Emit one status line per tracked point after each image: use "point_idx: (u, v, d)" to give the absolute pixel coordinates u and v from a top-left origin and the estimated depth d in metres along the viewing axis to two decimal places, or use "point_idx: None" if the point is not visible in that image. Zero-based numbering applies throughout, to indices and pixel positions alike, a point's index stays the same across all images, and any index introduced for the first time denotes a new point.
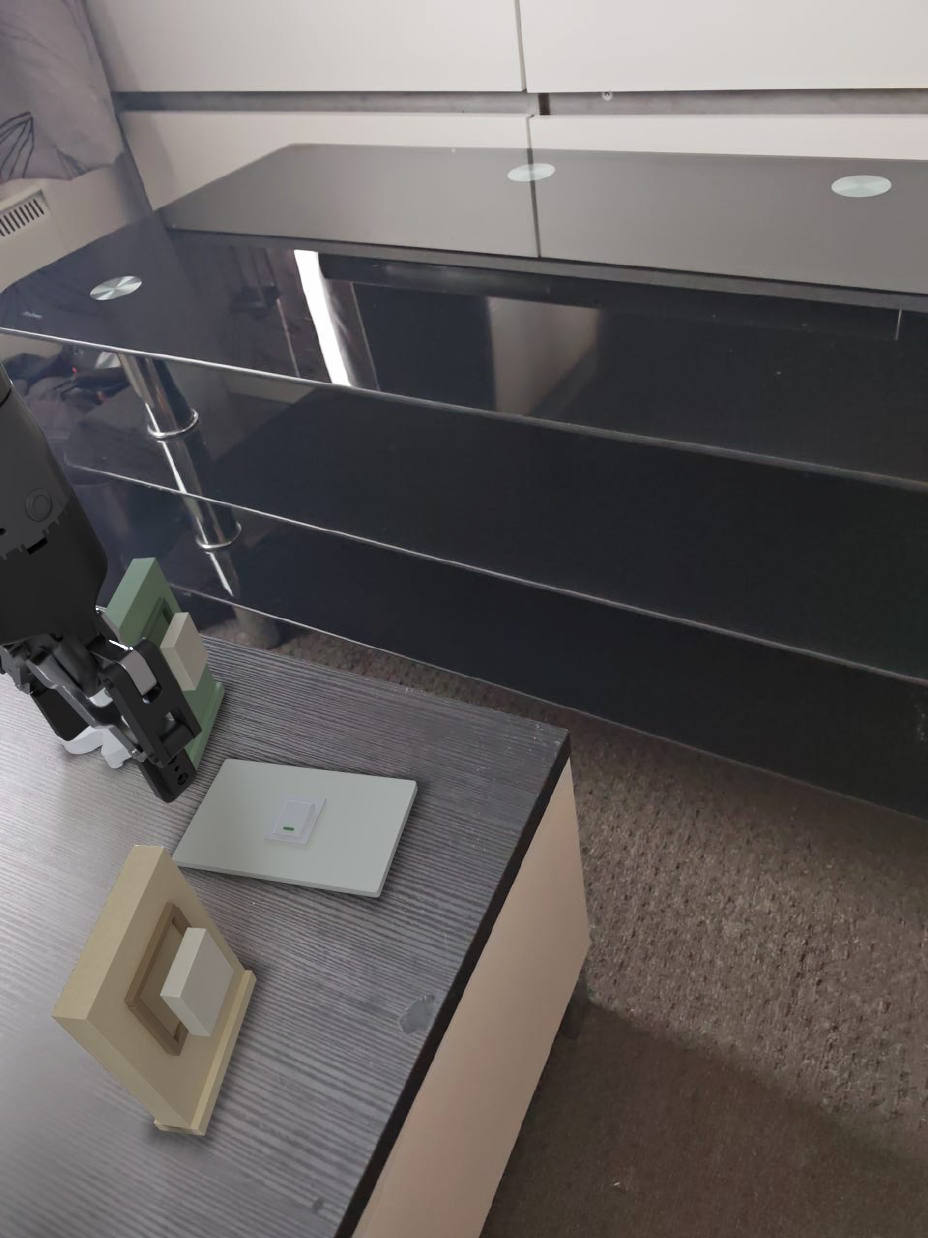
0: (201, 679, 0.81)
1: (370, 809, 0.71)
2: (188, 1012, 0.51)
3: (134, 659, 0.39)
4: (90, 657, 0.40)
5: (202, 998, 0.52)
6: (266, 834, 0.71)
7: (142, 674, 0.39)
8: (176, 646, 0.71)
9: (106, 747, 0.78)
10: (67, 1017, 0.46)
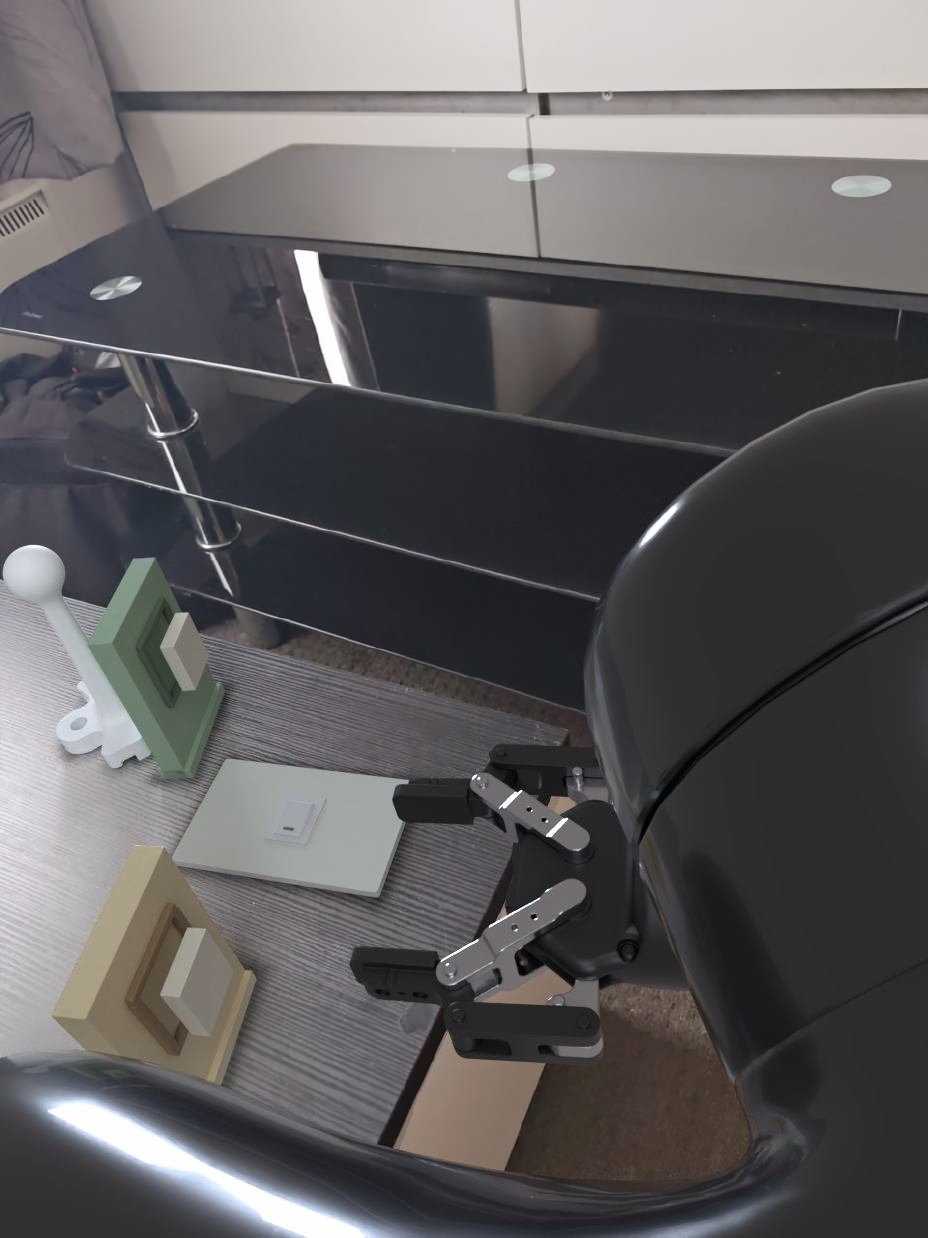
0: (201, 679, 0.81)
1: (370, 809, 0.71)
2: (188, 1012, 0.51)
3: (597, 1050, 0.35)
4: (591, 978, 0.36)
5: (202, 998, 0.52)
6: (266, 834, 0.71)
7: (577, 1052, 0.35)
8: (176, 646, 0.71)
9: (106, 747, 0.78)
10: (67, 1017, 0.46)
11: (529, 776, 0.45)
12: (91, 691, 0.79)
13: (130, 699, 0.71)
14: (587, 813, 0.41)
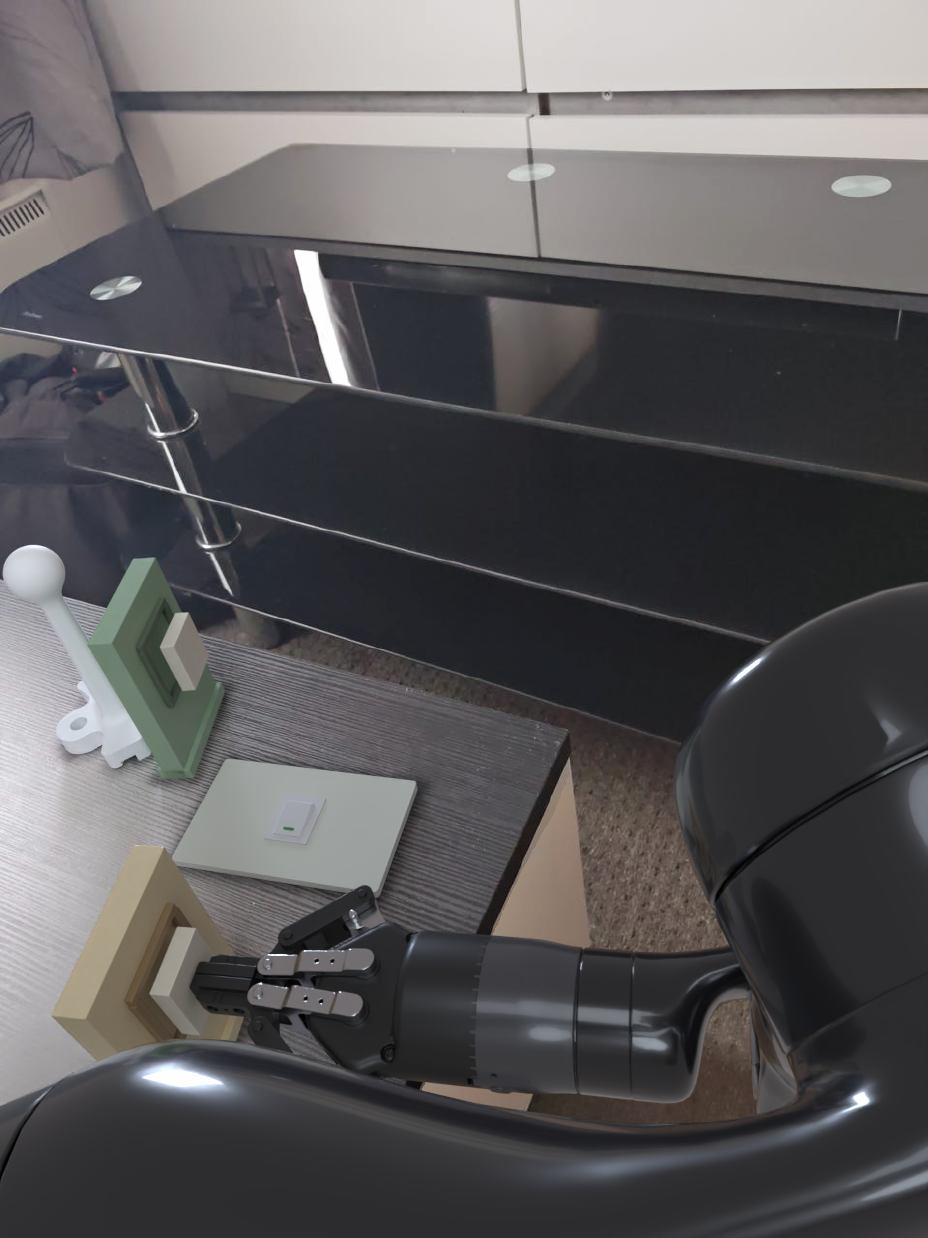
0: (201, 679, 0.81)
1: (370, 809, 0.71)
2: (178, 1011, 0.51)
3: None
4: None
5: (191, 997, 0.52)
6: (266, 834, 0.71)
7: None
8: (176, 646, 0.71)
9: (106, 747, 0.78)
10: (67, 1017, 0.46)
11: (313, 940, 0.54)
12: (91, 691, 0.79)
13: (130, 699, 0.71)
14: (379, 938, 0.51)
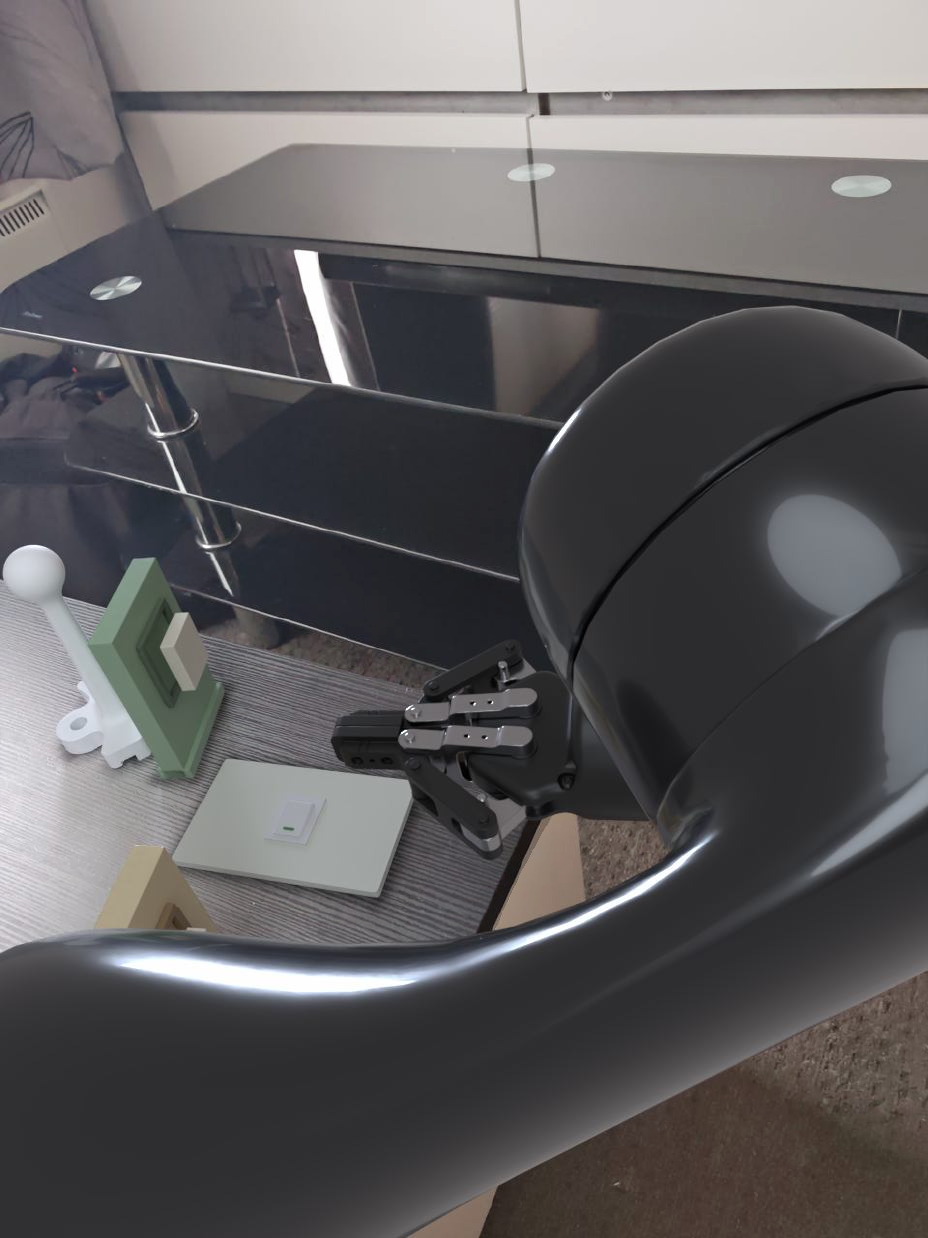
0: (201, 679, 0.81)
1: (370, 809, 0.71)
2: None
3: (487, 847, 0.42)
4: (519, 801, 0.43)
5: None
6: (266, 834, 0.71)
7: (473, 839, 0.42)
8: (176, 646, 0.71)
9: (106, 747, 0.78)
10: None
11: None
12: (91, 691, 0.79)
13: (130, 699, 0.71)
14: (536, 684, 0.47)
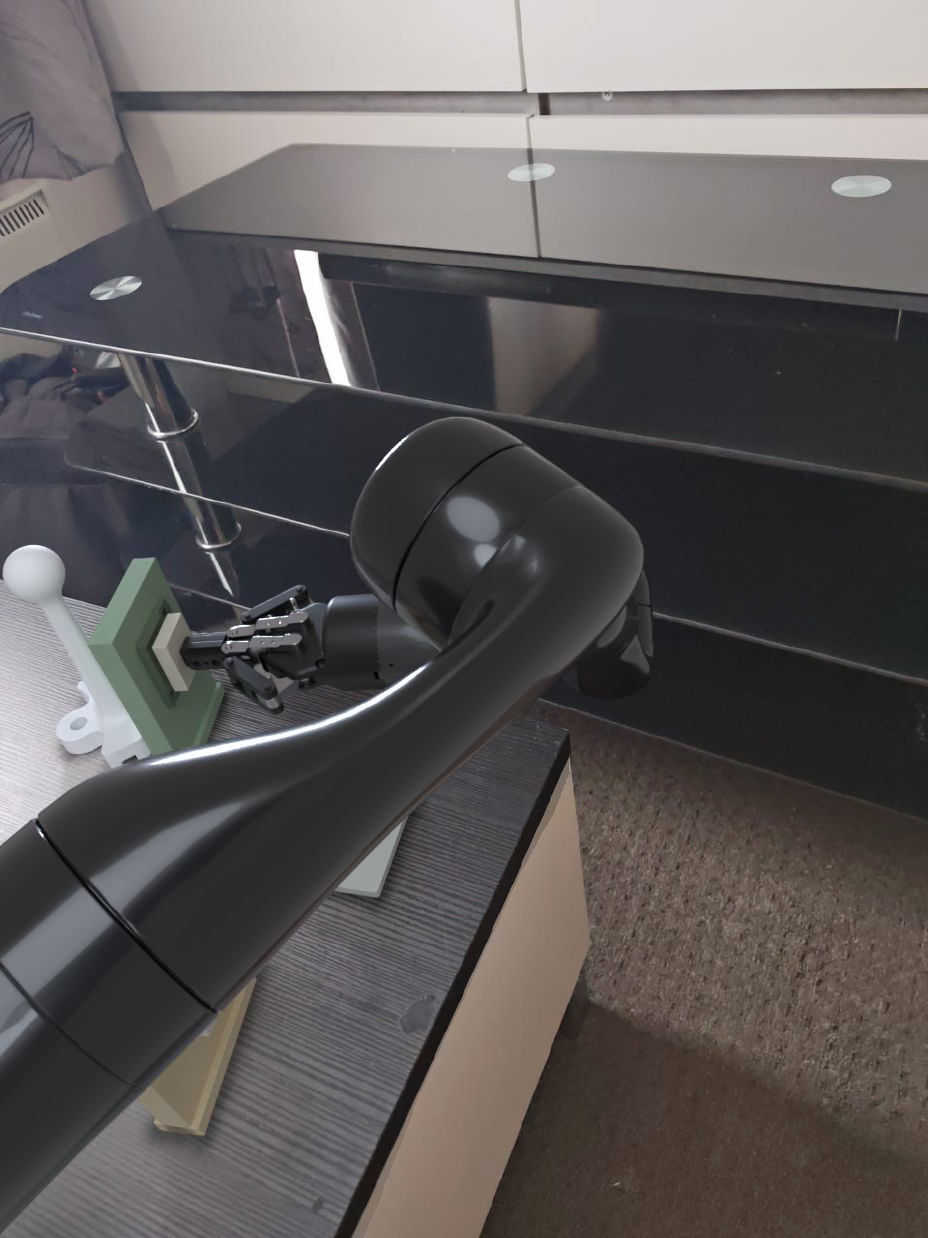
0: (201, 679, 0.81)
1: None
2: None
3: (271, 705, 0.68)
4: (292, 678, 0.69)
5: None
6: None
7: (263, 701, 0.69)
8: (169, 646, 0.72)
9: (106, 747, 0.78)
10: None
11: None
12: (91, 691, 0.79)
13: (130, 699, 0.71)
14: (312, 610, 0.74)
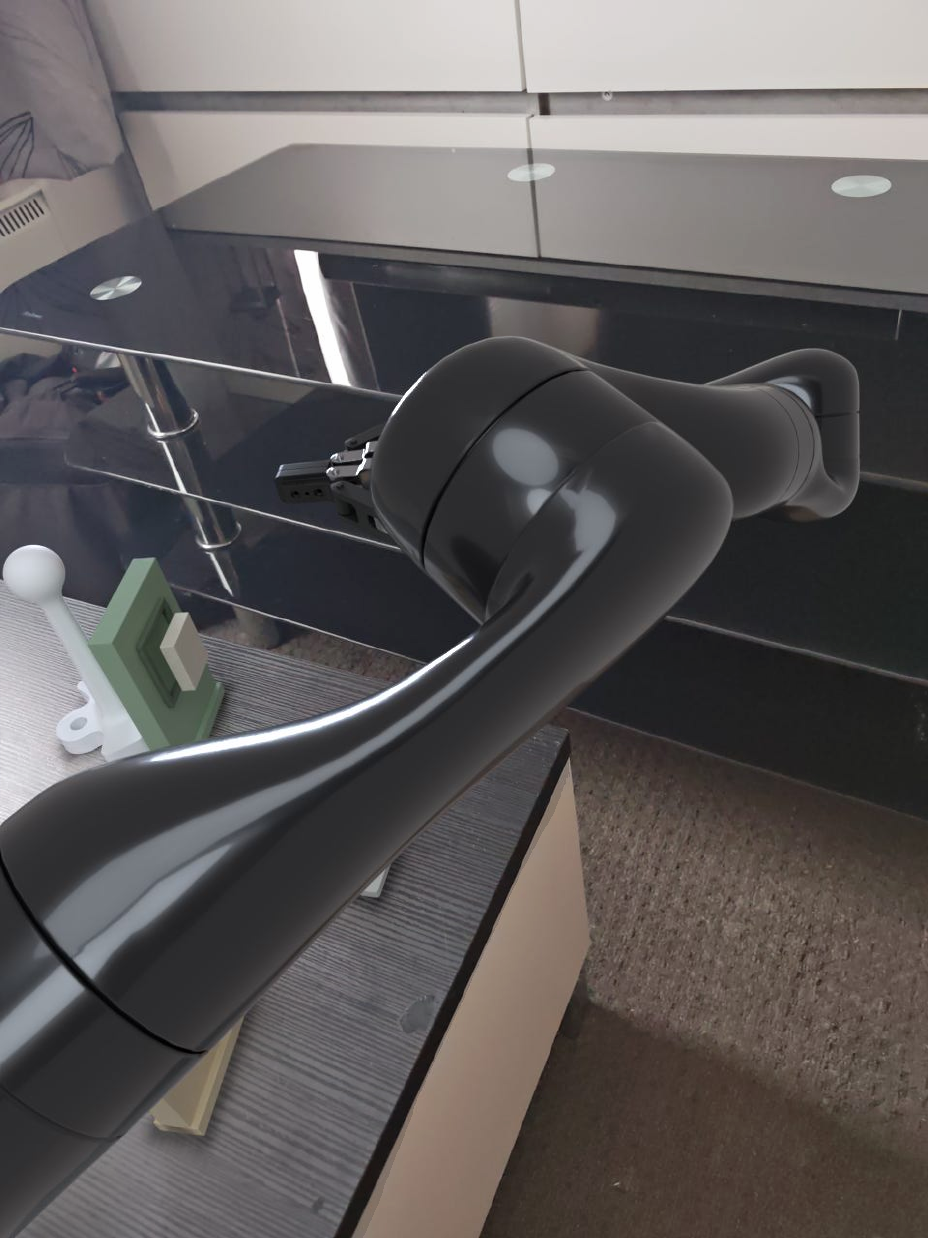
0: (201, 679, 0.81)
1: None
2: None
3: None
4: None
5: None
6: None
7: (384, 527, 0.57)
8: (176, 646, 0.71)
9: (106, 747, 0.78)
10: None
11: None
12: (91, 691, 0.79)
13: (130, 699, 0.71)
14: None
